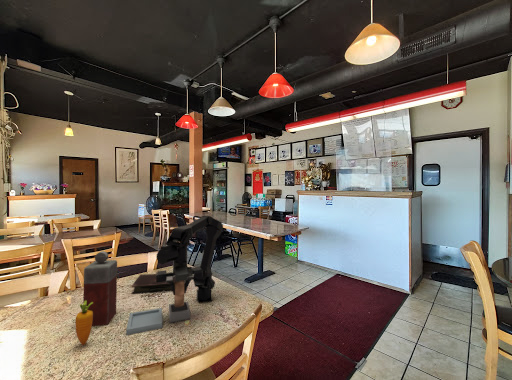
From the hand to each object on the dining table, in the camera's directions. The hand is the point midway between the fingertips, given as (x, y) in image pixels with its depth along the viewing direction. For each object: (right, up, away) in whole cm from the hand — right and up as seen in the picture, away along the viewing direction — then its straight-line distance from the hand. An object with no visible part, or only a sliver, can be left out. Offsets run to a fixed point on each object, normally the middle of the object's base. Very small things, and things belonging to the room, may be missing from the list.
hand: (179, 294), depth 99 cm
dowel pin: (0, -5, 0) cm, 4 cm away
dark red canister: (-32, -9, -2) cm, 33 cm away
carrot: (-27, -9, -19) cm, 34 cm away
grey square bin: (0, -10, 0) cm, 10 cm away
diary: (-21, -10, +31) cm, 39 cm away
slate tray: (-12, -9, -5) cm, 16 cm away
